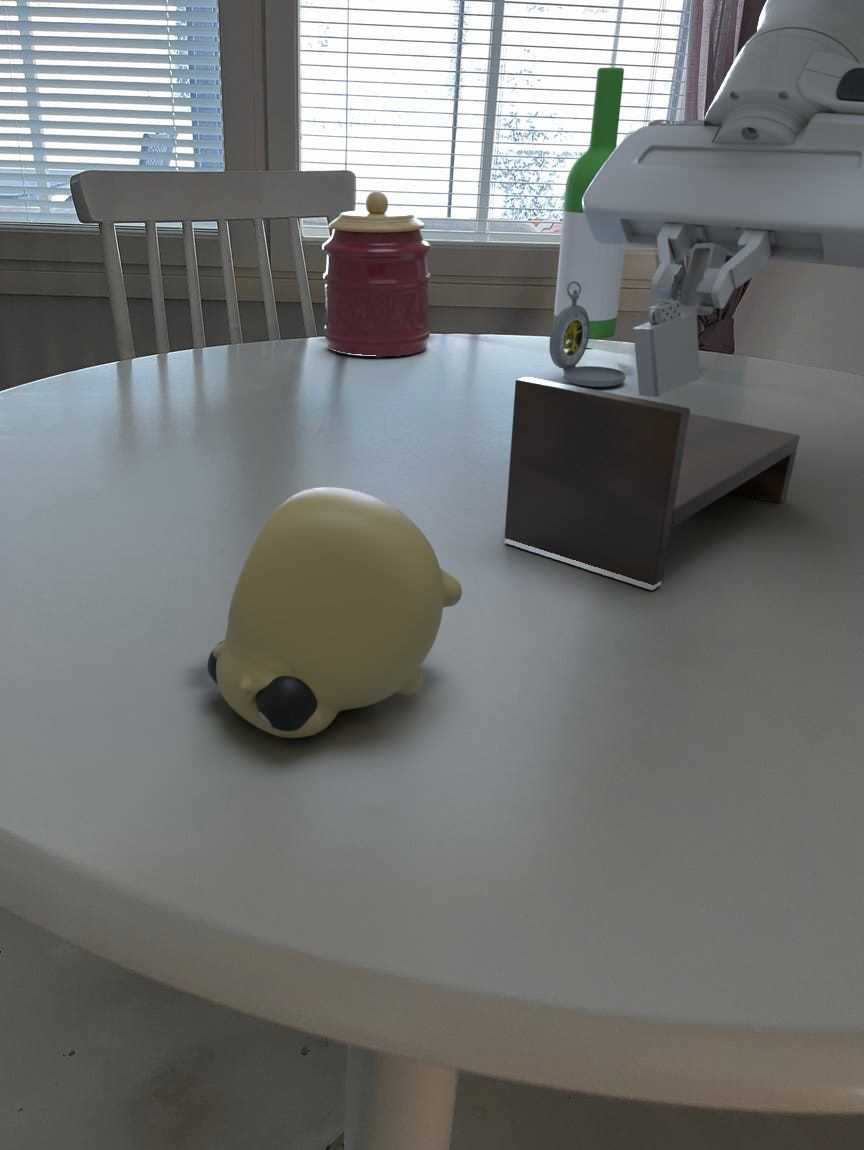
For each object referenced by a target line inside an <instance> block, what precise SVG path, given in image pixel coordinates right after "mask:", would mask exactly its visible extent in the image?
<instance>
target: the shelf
mask: <svg viewBox="0 0 864 1150" xmlns="http://www.w3.org/2000/svg"><path fill="white" fill-rule="evenodd" d="M512 413H513V414H512V425H511V426H512V427H511V428H512V429H511V438H510V439H511V440H510V452H509V453H510V454H509V468H508V469H509V470H508V484H507V496H506V498H507V499H506V508H505V509H506V510H505V511H506V512H505V524H504V538H506V539H510V540H513V541H516V542H519V543H522V544H525V545H528V546H532V547H535V548H538V549H541V550H544V551H547V552H550V553H554V554H557V555H560V556H563V557H566V558H569V559H572V560H576V561H579V562H582V563H585V564H588V565H591V566H594V567H598V568H601V569H604V570H607V571H610V572H613V573H616V574H620V575H623V576H626V577H629V578H632V579H635V580H638V581H642V582H645V583H648V584H651V585H655V584H657V583H658V582H660V581H661V580H662V581H663V578H664V573H665V567H666V561H667V554H668V548H669V542H670V537H671V531H672V528H673V527H675V526H677V525H679V524H680V523H682V522H683V521H685V520H686V519H688V518H689V517H691V516H693V515H695V514H696V513H698V512H699V511H701V510H703V509H704V508H705V507H707V506H709V505H710V504H712V503H714V502H716V501H717V500H718V499H720V498H722V497H723V496H725V495H727V494H728V493H734V492H736V493H735V494H738V493H741V494H740V495H742V494H745V495H744V496H746V495H750V496H754V497H759V498H763V499H767V500H770V501H769V502H771V501H774V502H773V503H775V502H778V503H777V504H781V503H783V502H784V501H786V500H785V499H787V495H788V491H789V487H790V482H791V478H792V473H793V469H794V465H795V461H796V456H797V450H798V447H799V442H800V437H801V435H800V434H797V433H792V432H786V431H782V430H776V429H771V428H766V427H761V426H756V425H751V424H747V423H741V422H736V421H731V420H725V419H721V418H716V417H710V416H705V415H701V414H695V413H691V408H689V407H686V406H680V405H675V404H671V403H670V404H669V403H664V402H660V401H654V400H649V399H644V398H639V397H634V396H628V395H624V394H617V393H612V392H609V391H603V390H597V389H592V388H587V387H581V386H578V385H572V384H566V383H563V382H562V383H561V382H557V381H551V380H546V379H540V378H535V377H529V376H524V377H521V378H518V379H516V380H515V384H514V399H513V412H512ZM730 491H732V492H730ZM750 496H749V497H750ZM754 497H753V498H754ZM759 498H758V499H759ZM763 499H762V500H763ZM767 500H766V501H767ZM782 501H783V502H782Z"/></svg>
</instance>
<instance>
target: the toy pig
mask: <svg viewBox="0 0 864 1150" xmlns="http://www.w3.org/2000/svg"><path fill="white" fill-rule="evenodd" d="M462 595H463V589H462V586H461V583H460V582H459V581H458V580H457V578H456V577H454V576H453V575H452V574H450V573H448V572H446V571H445V570H443V569H442V568H441V566H440V563H439V560H438V557H437V555H436V552H435V549H434V548H433V546H432V545H431V543H430V541H429V540H428V538H427V537H426V535H425V534H424V532H423V531H422V529H420V528H419V526H418V525H417V524H416V523H415V522H414V521H413V520H412V519H411V518H410V517H409V516H407V514H405V513H404V512H402V511H401V510H399V509H398V508H397V507H395V506H393V505H392V504H390V503H388V502H387V501H384V500H382V499H380V498H378V497H376V496H374V495H372V494H368V493H365V492H362V491H358V490H356V489H355V490H354V489H349V488H344V487H331V486H330V487H329V486H324V487H314V488H313V487H312V488H308V489H304V490H302V491H300V492H297V493H295V494H293V495H292V496H290V497H289V498H287V499H286V500H284V502H282V503H281V504H280V505H279V506H278V507H277V508H276V509H275V510H274V511H273V513H271V515H270V516H269V518H268V519H267V521H266V522H265V523H264V525H263V526H262V528H261V530H260V531H259V533H258V535H257V536H256V539H255V540H254V543H253V544H252V546H251V549H250V550H249V553H248V554H247V557H246V559H245V562H244V564H243V566H242V569H241V571H240V574H239V576H238V578H237V581H236V584H235V586H234V590H233V594H232V596H231V601H230V605H229V610H228V615H227V627H226V632H225V635H224V640H222V641H220V642H219V643H217V644H216V645H215V646H214V647H213V649H212V650H211V652H210V653H209V656H208V660H207V672H208V675H209V677H210V679H211V680H212V682H213V683H214V684H215V685H216V686H218V689H219V692H220V694H221V697H222V698H223V699H224V701H225V702H227V705H228V706H229V707H230V708H232V710H234V711H235V713H236V714H238V715H240V717H242V719H244V720H245V721H247V722H248V723H249V724H252V725H253V726H255V727H256V728H258V729H260V730H261V731H264V732H266V733H268V734H270V735H273V736H276V737H280V738H285V739H287V738H288V739H298V738H306V737H311V736H313V735H316V734H318V733H320V732H322V731H323V730H325V729H326V728H328V727H329V725H331V724H332V723H333V721H334V720H335V719H336V717H337V715H338V714H339V713H340V712H342V711H347V710H355V709H361V708H365V707H369V706H372V705H375V704H377V703H379V702H382V701H384V700H385V699H388V698H389V697H391V696H392V695H394V694H395V693H398V694H399V695H400V694H401V695H403V696H407V697H409V696H414V695H417V694H418V693H420V692H421V690H422V689H423V687H424V684H425V677H424V673H423V670H422V669H421V666H422V664H423V663H424V661H425V660H426V658H427V657H428V655H429V653H430V651H431V650H432V648H433V646H434V644H435V641H436V639H437V636H438V633H439V630H440V626H441V622H442V619H443V618H442V617H443V612H444V608H449V607H454V606H455V605H457V604H458V603H459V602H460V600H461V598H462Z"/></svg>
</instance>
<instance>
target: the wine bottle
mask: <svg viewBox="0 0 864 1150" xmlns="http://www.w3.org/2000/svg"><path fill="white" fill-rule="evenodd" d="M624 75H625V69H624V68H623V67H599V68H598V69H597V73H596V82H595V90H594V91H595V92H594V102H593V110H592V121H591V130H590V139H589V146H588V148H587V150H586V151H585V152H584V153H583V154H581V155H580V156H579V157H578V159H576V161H575V162H574V163H573V165H572V167H571V168H570V170H569V173H568V175H567V178H566V181H565V182H566V183H565V189H564V190H565V191H564V203H563V214H562V224H561V232H560V244H559V254H558V255H559V256H558V267H557V276H556V278H557V279H556V287H555V288H556V289H555V298H554V299H555V300H554V309H553V310H554V312H553V323H552V326H553V325H554V322H555V320H556V318H557V317H558V315H559V314H560V312H561V311H562V310H563V309H565V308H566V307H568V306H572V300H571V297H570V296H569V295H568V293H567V286H568V284H569V283H570V282H572V281H575V282H578V283H579V284H580V286H581V293H580V295H579V298H578V299H577V305H578V306H581V307H583V308H584V309H585V311H586V312H587V314H588V318H589V325H590V334H589V340H603V339H609V338H613V337H614V336H615V334H616V328H617V327H616V326H617V319H618V313H619V302H620V294H621V286H622V280H623V279H622V278H623V269H624V261H625V260H624V259H625V252H626V246H625V245H614V244H603V243H599V242H597V241H596V240H595V238H594V237H593V235H592V233H591V231H590V229H589V226H588V224H587V222H586V219H585V215H584V212H583V208H582V199H583V196H584V194H585V192H586V191H587V189H588V187H589V186H590V184H591V183H592V181H593V179H594V178H595V176H596V175H597V173H598V172H599V171H600V169H601V168H602V166H603V165H604V164H605V162H606V161H607V159H608V158H609V157H610V155H611V154H612V153H613V151H614V150H615V149H616V148H617V146H618V143H617V142H618V133H619V123H620V114H621V103H622V96H623V95H622V93H623V83H624ZM574 290H577V291H578V292H579V287H578V285H577V284H575V283H573V284H571V285H570V287H569V292H570V294H571V295H572V294H573V293H574V292H573V291H574ZM578 292H577V293H578ZM574 331H575V328H574ZM570 337H571V336H570ZM563 345H564V346H565V344H563ZM569 346H570V345H569ZM586 350H593V348H592V347H586Z"/></svg>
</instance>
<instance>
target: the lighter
mask: <svg viewBox="0 0 864 1150" xmlns="http://www.w3.org/2000/svg"><path fill="white" fill-rule="evenodd" d="M727 251H728V250H727V248H726V247H723V246H720V245H717V244H715V243H699V244H695V245H694V246H693V247H692V252H690V256H689V260H688V265H687V268H686V273H685V281H684V285H683V289H682V293H680V298H679V300H678V301H676V300H669V301H661V302H660V303H657V304H655V305H652V306H650V307H648V314H647V322H645V323H642V324H639V325H637V326H634V327H633V328H632V329H633V331H632V332H633V341H634V351H635V352H634V353H635V364H636V375H637V386H638V394H639V396H643V397H653V398H658V397H661V396H663V395H665V394H668V393H670V392H672V391H676V390H677V389H679V388H682V387H685V386H686V385H688V384H691V383H694V382H696V381H699V380H700V379H701V369H700V368H701V365H700V349H699V330H698V319H697V318H698V316H711V315H712V314H713V311H714V308H711V307H705V306H701V305H699V301H700V300H699V299H698V298H697V294H696V293H697V287H698V285H699V283H700V282H701V281H702V280H704V279H703V275H704V273H705V271H706V269H707V268H719V269H720V267H722V266H723V265H724V264H725V263H726V259H727V256H728V255H727Z"/></svg>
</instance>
